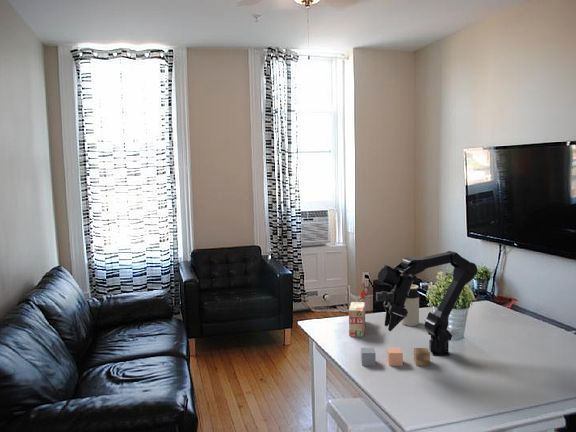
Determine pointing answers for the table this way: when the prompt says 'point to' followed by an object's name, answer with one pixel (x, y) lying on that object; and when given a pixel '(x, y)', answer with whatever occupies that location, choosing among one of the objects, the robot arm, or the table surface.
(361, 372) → the table surface
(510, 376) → the table surface
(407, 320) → the travel mug
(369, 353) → the grey cube
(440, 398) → the table surface
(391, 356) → the terracotta cube
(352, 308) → the stack of blocks
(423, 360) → the walnut cube
